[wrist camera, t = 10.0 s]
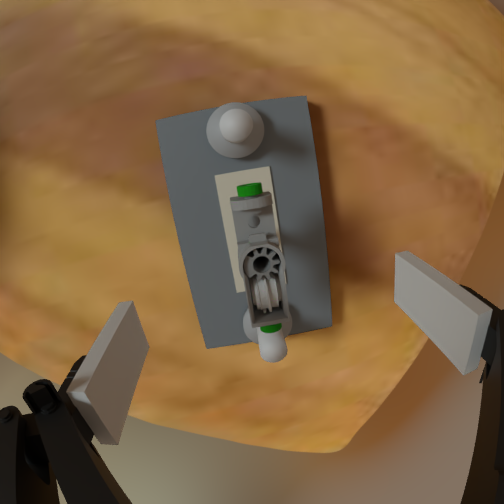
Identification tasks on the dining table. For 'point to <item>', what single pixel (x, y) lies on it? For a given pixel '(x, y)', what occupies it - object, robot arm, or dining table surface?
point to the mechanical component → (260, 257)
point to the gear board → (221, 219)
